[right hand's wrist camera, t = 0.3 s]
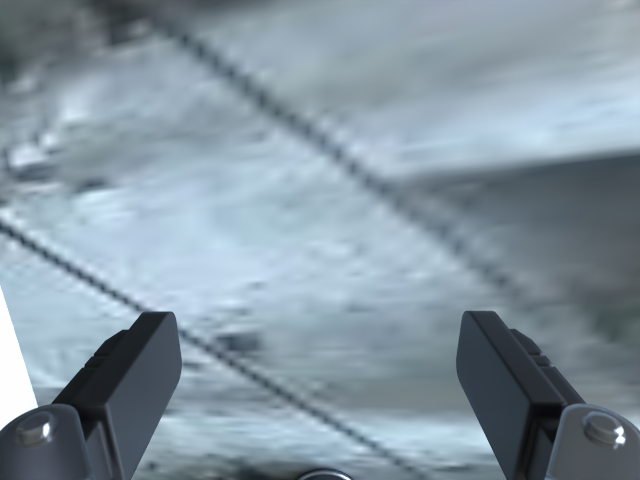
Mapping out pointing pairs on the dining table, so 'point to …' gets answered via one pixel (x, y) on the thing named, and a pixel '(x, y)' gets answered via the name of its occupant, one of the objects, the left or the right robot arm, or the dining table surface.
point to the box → (12, 373)
